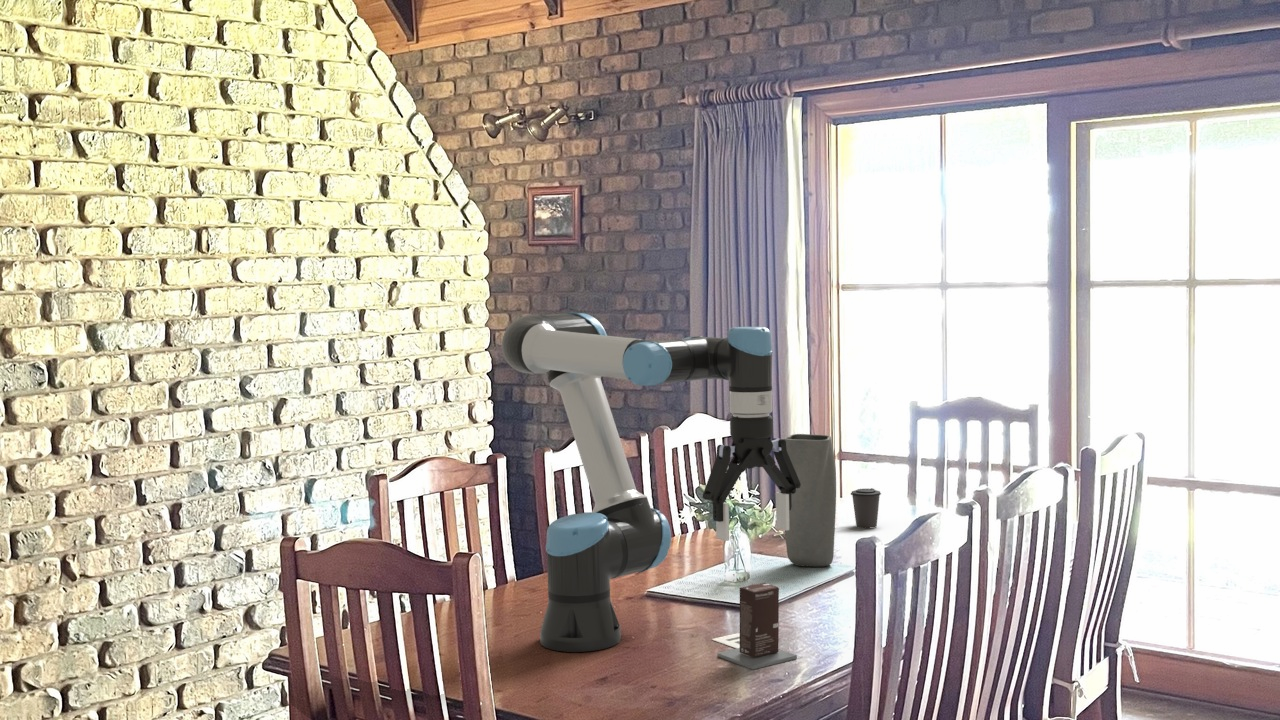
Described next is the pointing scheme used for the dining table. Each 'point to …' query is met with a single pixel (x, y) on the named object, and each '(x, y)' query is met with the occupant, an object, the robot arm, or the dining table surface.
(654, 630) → the dining table surface
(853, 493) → the coffee cup
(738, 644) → the tile
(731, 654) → the coaster
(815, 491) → the vase
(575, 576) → the robot arm
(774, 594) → the box
